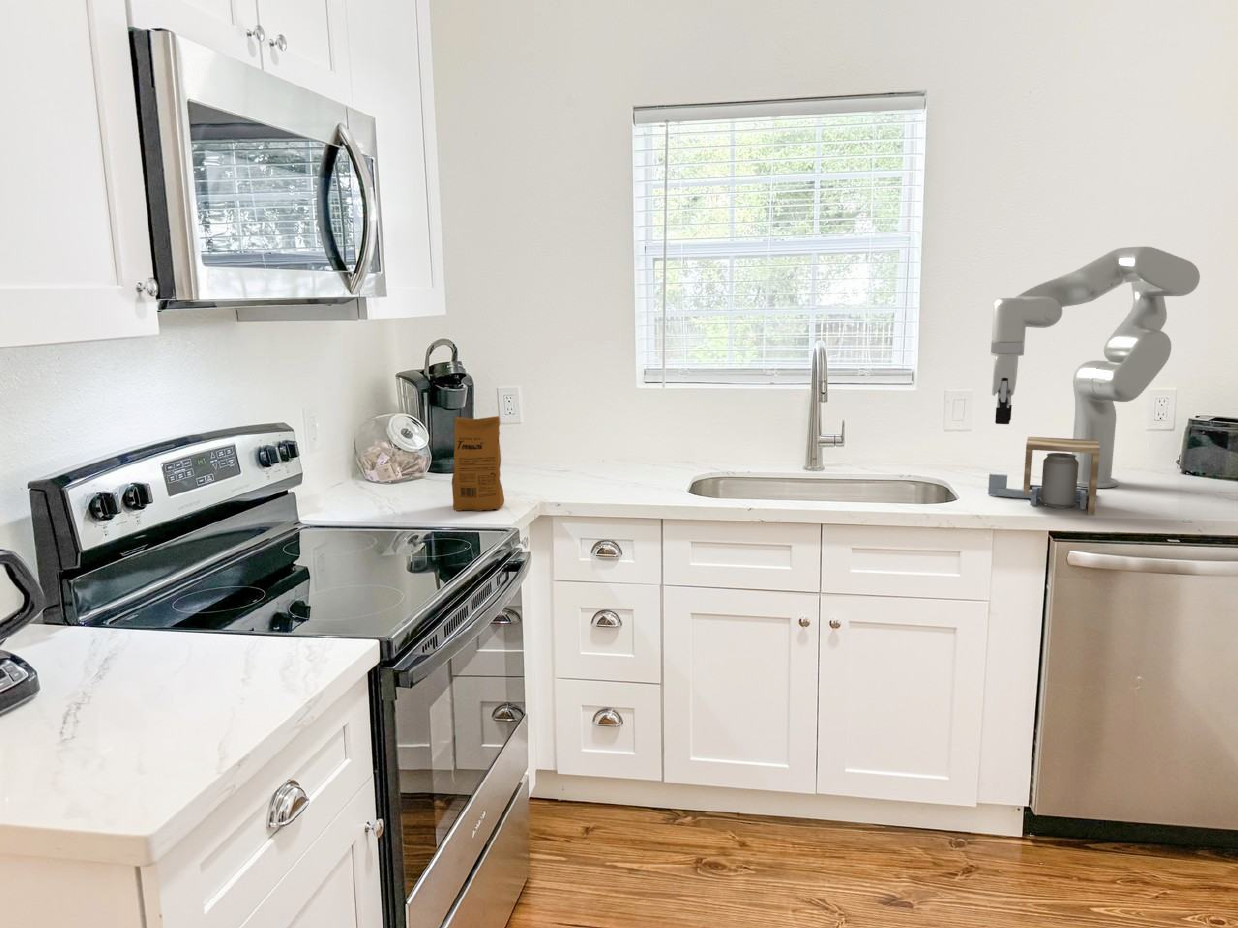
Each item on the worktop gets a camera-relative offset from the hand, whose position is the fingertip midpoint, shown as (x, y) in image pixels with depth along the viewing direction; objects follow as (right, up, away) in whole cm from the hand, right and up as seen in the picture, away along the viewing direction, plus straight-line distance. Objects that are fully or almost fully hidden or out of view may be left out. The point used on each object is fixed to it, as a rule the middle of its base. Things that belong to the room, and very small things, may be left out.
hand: (1003, 421), depth 232 cm
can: (+8, -20, -13) cm, 25 cm away
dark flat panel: (+12, -18, -3) cm, 22 cm away
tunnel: (+7, -20, -15) cm, 26 cm away
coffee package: (-129, -21, -7) cm, 131 cm away
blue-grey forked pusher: (+3, -19, -10) cm, 22 cm away
